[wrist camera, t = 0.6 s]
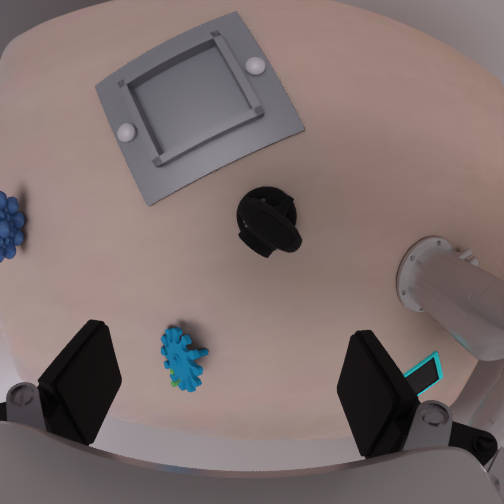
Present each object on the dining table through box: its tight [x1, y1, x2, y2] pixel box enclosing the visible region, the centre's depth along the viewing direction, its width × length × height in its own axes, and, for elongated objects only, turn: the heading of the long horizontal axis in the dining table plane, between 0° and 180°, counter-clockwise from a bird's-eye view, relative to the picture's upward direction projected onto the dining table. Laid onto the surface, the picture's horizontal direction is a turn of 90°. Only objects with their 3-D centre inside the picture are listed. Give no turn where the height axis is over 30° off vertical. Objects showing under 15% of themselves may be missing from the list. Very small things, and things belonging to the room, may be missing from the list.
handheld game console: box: [403, 351, 443, 396], centre depth 45 cm, size 10×16×1 cm, turn 124°
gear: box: [161, 327, 208, 392], centre depth 39 cm, size 11×6×10 cm
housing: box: [95, 11, 305, 206], centre depth 29 cm, size 22×20×4 cm
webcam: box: [237, 187, 302, 258], centre depth 30 cm, size 8×8×10 cm
